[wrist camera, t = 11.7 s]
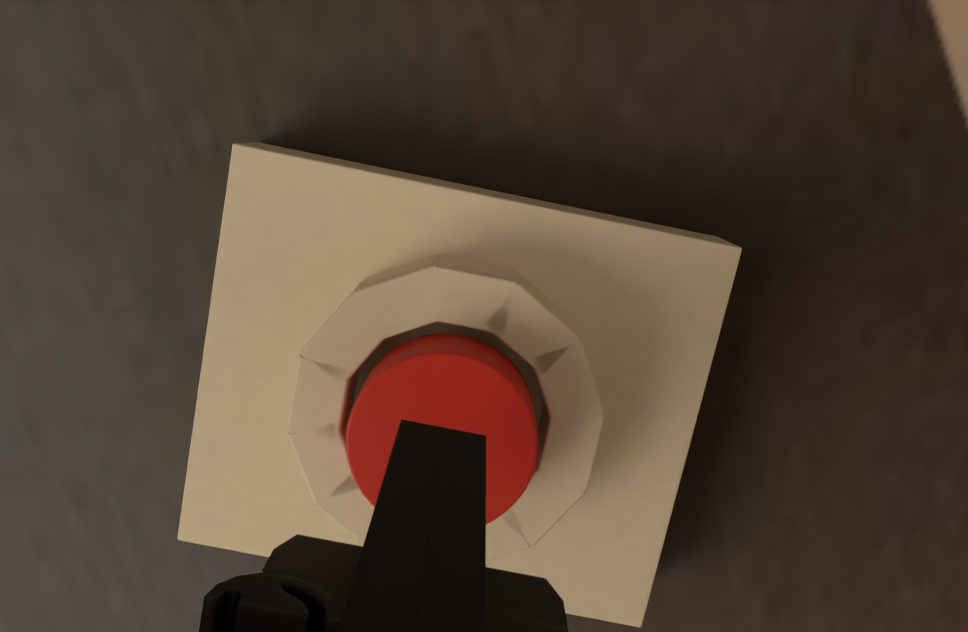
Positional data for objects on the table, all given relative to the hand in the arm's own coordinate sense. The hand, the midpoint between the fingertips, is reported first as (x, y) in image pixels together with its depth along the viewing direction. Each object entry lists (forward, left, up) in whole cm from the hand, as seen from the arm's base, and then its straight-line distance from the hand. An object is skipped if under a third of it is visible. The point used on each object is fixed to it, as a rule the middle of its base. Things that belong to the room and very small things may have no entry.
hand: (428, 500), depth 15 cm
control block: (0, 0, -8) cm, 8 cm away
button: (0, 0, -5) cm, 5 cm away
